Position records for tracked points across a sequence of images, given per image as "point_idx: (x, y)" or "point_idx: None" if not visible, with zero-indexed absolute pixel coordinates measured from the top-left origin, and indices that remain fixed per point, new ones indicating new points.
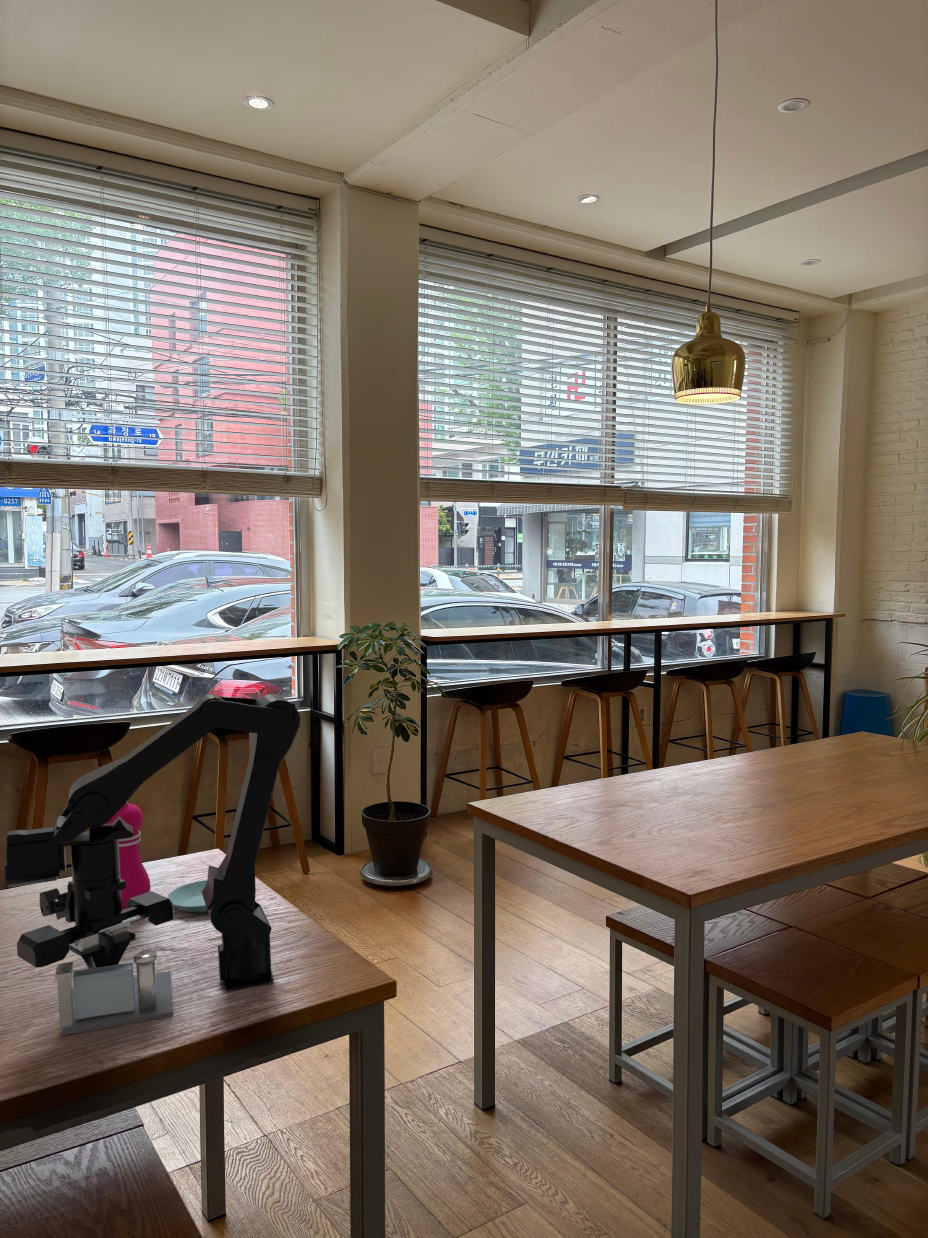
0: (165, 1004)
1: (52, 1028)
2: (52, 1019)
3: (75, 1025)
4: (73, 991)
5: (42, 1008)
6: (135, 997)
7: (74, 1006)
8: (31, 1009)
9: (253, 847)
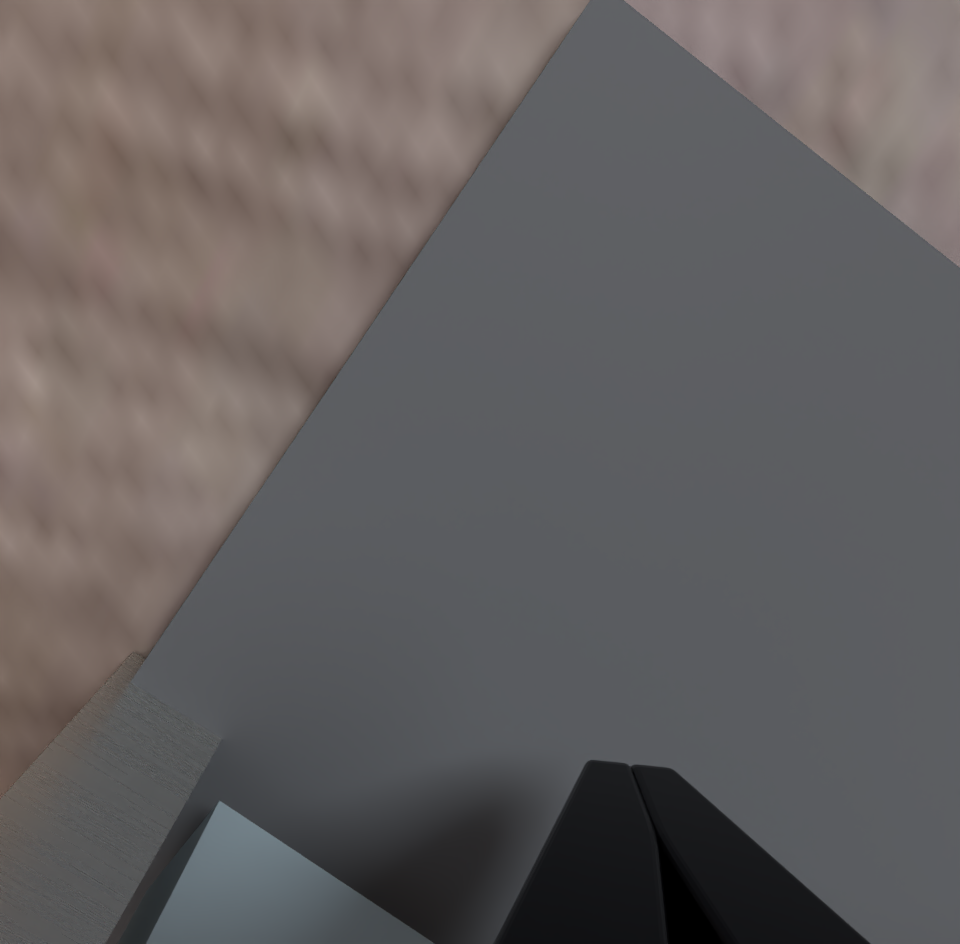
0: None
1: (20, 654)
2: (103, 484)
3: (139, 899)
4: (566, 148)
5: (146, 120)
6: (855, 923)
7: (347, 535)
8: (42, 14)
9: None
